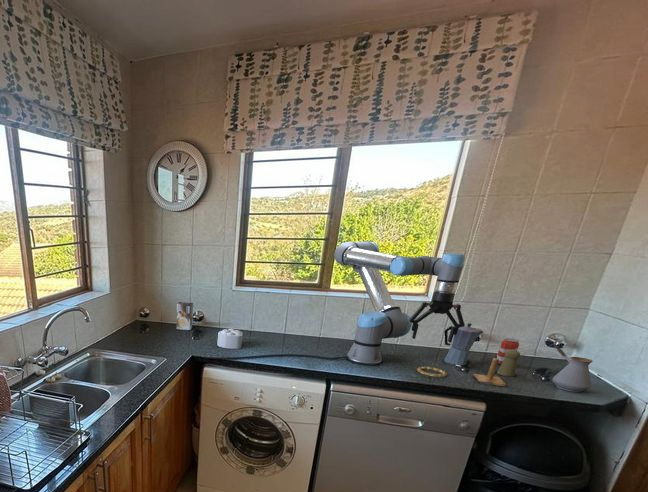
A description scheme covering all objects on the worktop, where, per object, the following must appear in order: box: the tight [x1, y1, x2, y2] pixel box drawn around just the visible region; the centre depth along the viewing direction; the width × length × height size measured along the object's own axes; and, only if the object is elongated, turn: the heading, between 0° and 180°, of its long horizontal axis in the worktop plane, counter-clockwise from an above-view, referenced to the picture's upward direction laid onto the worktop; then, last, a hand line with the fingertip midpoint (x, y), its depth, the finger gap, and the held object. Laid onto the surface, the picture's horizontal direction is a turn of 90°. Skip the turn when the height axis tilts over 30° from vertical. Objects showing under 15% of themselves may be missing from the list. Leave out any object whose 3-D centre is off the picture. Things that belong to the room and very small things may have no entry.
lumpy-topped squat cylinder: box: [216, 328, 244, 350], centre depth 217 cm, size 10×13×9 cm
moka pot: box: [443, 323, 484, 366], centre depth 190 cm, size 10×15×20 cm, turn 78°
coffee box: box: [176, 301, 194, 331], centre depth 249 cm, size 9×6×16 cm
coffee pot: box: [549, 343, 593, 393], centre depth 168 cm, size 21×12×15 cm, turn 171°
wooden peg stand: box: [473, 357, 507, 387], centre depth 171 cm, size 9×9×10 cm
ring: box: [416, 366, 448, 378], centre depth 181 cm, size 11×11×2 cm
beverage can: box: [495, 337, 520, 365], centre depth 192 cm, size 6×6×12 cm
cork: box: [496, 350, 521, 377], centre depth 179 cm, size 6×6×11 cm
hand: (431, 340), depth 178 cm, fingers open, 13 cm apart
